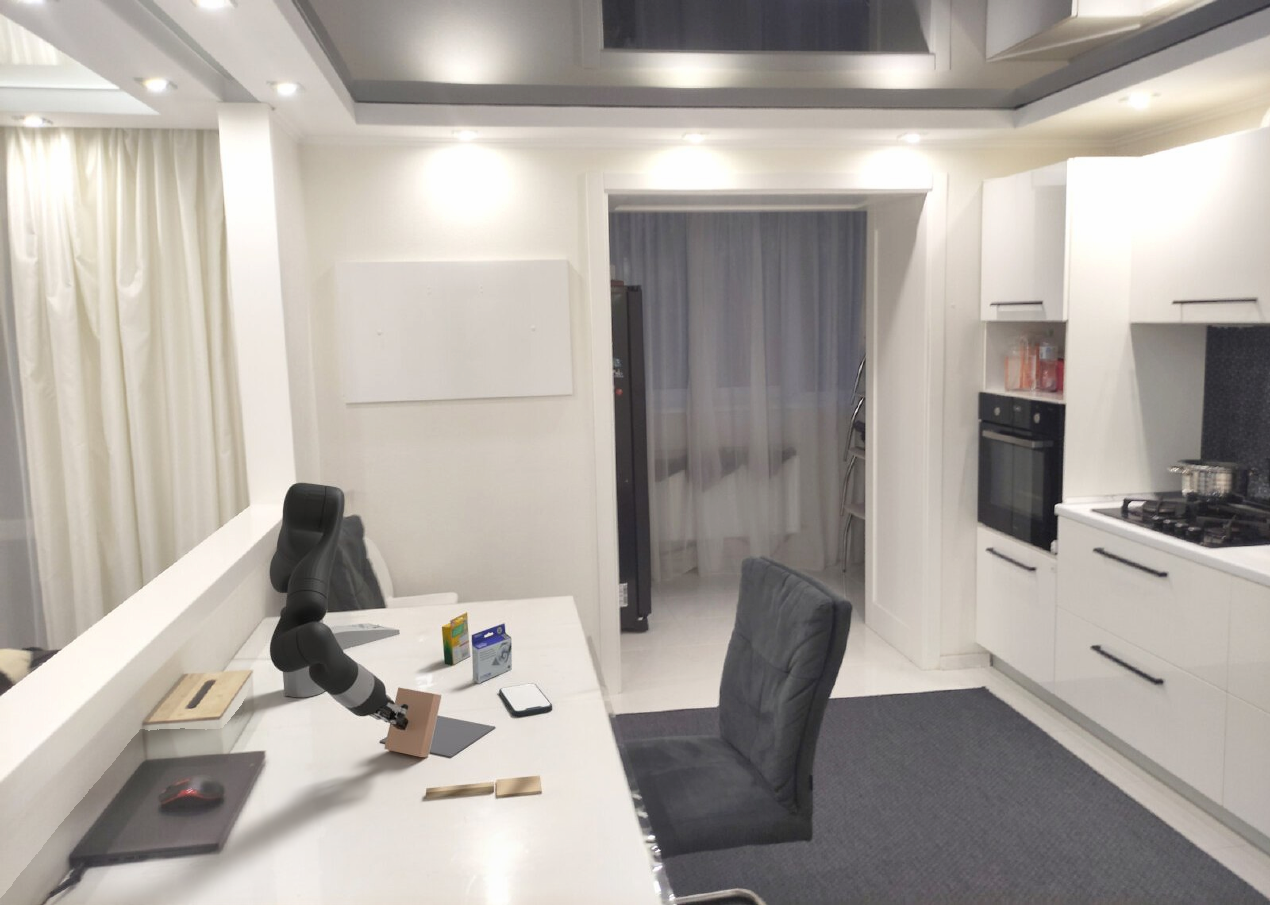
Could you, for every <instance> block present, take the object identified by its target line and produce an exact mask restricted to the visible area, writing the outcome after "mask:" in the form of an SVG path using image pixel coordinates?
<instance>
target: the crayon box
mask: <svg viewBox="0 0 1270 905" xmlns="http://www.w3.org/2000/svg"><path fill="white" fill-rule="evenodd" d="M468 619H469V618H468V612H465V613H463V614H461V615H458V616H456V617H455V618H452V619H451V620H449V623H447V624H445V625H443V626H441V632H442V634H441V635H442V646H443V660H444V661H443V662H444V664H445V665H448V666H455V665H457V664H458V663H460V662H462V661H464V660H465V659H467V658H469V657H471V649H470V635H469V621H468Z"/></svg>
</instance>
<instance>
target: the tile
mask: <svg viewBox="0 0 1270 905" xmlns="http://www.w3.org/2000/svg"><path fill="white" fill-rule="evenodd" d="M441 701H442V695H441V694H437V693H431V692H427V691H421V690H415V689H409V688H403V687H398V688H397V692H396V696H395V701H394V703H395V704H396V705H397V706H400V705H403V704H406V705H408V706H409V707H408V710H407V713H406V715H405V718H407V719H408V721H409V722H408V724H407V727H406V729H405V730H400V729H397V728H396V727H394V726H393V725H392V724H390V723H389V725H388V732H387V736H386V737H387V739H386V743H384V748H383V749H384V750H388V751H391V752H396V753H400V754H401V753H402V754H406V755H409V756H414V757H419V758H429V756H430V753H429V752H430V747H431V743H432V738H433V734H434V729H435V724H436V720H437V715H438V714H439V710H440V705H441ZM438 716H439V715H438Z"/></svg>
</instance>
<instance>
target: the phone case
mask: <svg viewBox="0 0 1270 905" xmlns="http://www.w3.org/2000/svg"><path fill="white" fill-rule="evenodd" d="M498 694H499V695H500V697H501V699H502V700H503V702H504V703H505V705H506V706H507V708H508V710H509V711H510V713H511V714H512V716H513V717H516V718H521V717H527V716H533V715H539V714H545V713H550V712H552V711H553V704H552V703H551V702H550V700H549V699H548V697H547V696H546V695H545V694H544V692H542V690H541V689H540V688H539V687H538V686H537V684H536V683H533V682H532V683H524V684H518V685H512V686H507V687H502V688H499V691H498Z"/></svg>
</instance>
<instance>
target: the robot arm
mask: <svg viewBox="0 0 1270 905" xmlns="http://www.w3.org/2000/svg"><path fill="white" fill-rule="evenodd" d="M344 512H345V493H344V492H343V490H342V489H341V488H339V487H337V486H331V485H324V484H318V483H312V482H311V483H309V482H297V483H294V484H291V486H290V487H289V488H288V490H287V491H286V494H285V497H284V499H283V503H282V518H281V519H282V520H281V522H282V523H281V527H280V530H279V534H278V537H277V542H276V550H275V551H274V554H273V555H272V558H271V560H270V565H269V580H270V584H271V585H272V587H273V590H275V591H276V592H277V593H279V594H286V598H285V599H286V602H285V606H284V607H283V608H281V610H280V614H279V615H280V617H279V620H278V622H277V624H276V626H275V628H274V631H273V633H272V636H271V639H270V643H269V656H270V660H271V662H272V664H273V666H274V667H275V668H276V669H277V670H278V671H280V672H282V681H283V682H282V683H283V690H284V691H283V693H284V694H283V695H284V697H291V698H310V697H314V696H317V695H321V694H322V693H324V692H326V693H327V694H329V696H331V698H332V699H333V700H334V701H336V702H337V703H339V704H340V705H341V706H342V707H344V708H345V709H347V711H350V712H351V713H352V714H353V715H355V716H358V717H368V716H370V717H371V718H374V719H375V720H377V721H378V720H379V721H381V720H382V721H383V722H384V723H387V724H389V725H390V724H392V725H393V726H394V727H396V728H397V729H400V730H405V729H406V727H407V724H408V722H409V721H408V719H407V718H405V715H406V713H407V710H408V707H409V706H408V705H406V704H403V705H400V706H397V705H396V704H395V701H394V700H393V699H392V698H391V697H390V696H389V695H388V694H387V690H386V686H385V682H383V681H382V680H381V679H380V678H378V677H377V676H376V675H375V674H374V673H372V672H371V671H370V670H369V669H367V668H366V667H365V666H364V665H363V664H361V663H359V662H357V661H355V660H354V659H353V658H351V657H350V656H349V655H348V654H347V653H345V652H344V650H342V649H341V647H340V645H339V644H338V642H337V640H336V638H335V636H334V634H333V632H332V631H331V629H330V628H329V627H330V626H328V625H327V624H325V623H324V618H325V617H326V614H327V611H328V606H329V605H328V602H329V592H330V579H331V574H332V571H333V570H332V569H333V566H334V565H333V564H334V562H335V558H336V552H337V550H338V545H339V540H340V534H341V531H342V526H343V525H342V524H343V519H344V514H345V513H344Z"/></svg>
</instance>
